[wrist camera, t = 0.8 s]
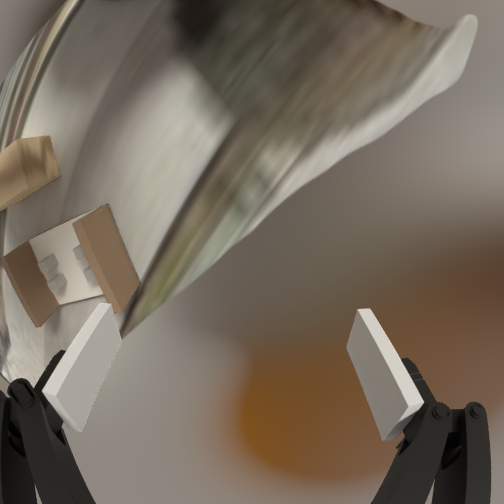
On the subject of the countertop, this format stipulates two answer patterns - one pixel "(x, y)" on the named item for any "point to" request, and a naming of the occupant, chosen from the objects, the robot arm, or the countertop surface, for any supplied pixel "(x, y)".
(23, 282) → the peg stand
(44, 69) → the countertop surface
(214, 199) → the countertop surface
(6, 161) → the shelf block
